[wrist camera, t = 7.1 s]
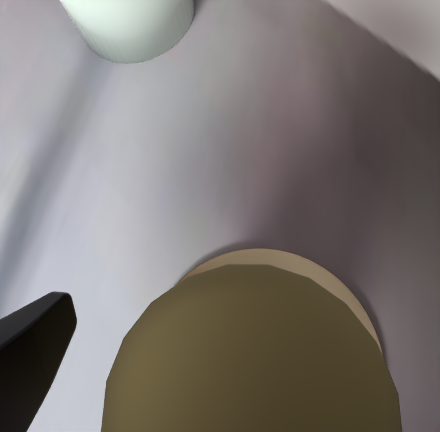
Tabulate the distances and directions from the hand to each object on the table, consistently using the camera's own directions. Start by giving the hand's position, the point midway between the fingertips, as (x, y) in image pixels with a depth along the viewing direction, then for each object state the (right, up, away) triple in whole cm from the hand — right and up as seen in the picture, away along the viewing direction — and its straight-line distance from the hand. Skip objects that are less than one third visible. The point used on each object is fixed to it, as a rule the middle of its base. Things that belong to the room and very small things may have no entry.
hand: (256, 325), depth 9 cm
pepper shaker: (+1, -4, +7) cm, 8 cm away
